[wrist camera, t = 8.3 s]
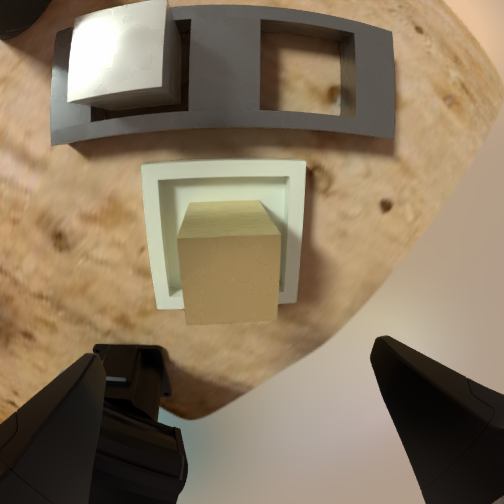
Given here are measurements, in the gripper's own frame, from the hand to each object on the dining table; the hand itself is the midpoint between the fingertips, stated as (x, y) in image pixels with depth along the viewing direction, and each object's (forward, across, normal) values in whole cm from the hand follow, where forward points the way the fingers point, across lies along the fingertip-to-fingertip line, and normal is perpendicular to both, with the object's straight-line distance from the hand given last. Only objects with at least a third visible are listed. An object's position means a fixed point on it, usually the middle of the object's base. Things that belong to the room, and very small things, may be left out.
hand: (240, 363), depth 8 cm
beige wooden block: (+12, 0, 0) cm, 12 cm away
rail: (+13, 0, -11) cm, 17 cm away
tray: (+13, 0, 0) cm, 13 cm away
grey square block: (+13, +5, -11) cm, 18 cm away
